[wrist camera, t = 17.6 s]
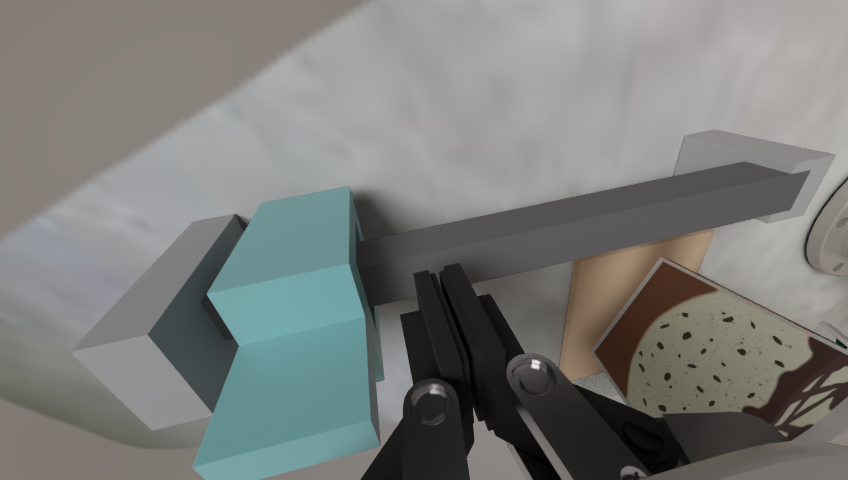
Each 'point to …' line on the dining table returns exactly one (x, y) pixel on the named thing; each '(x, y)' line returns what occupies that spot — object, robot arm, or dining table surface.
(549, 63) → the dining table surface
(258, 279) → the sleeve
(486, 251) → the rail
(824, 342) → the food container
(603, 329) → the mat
